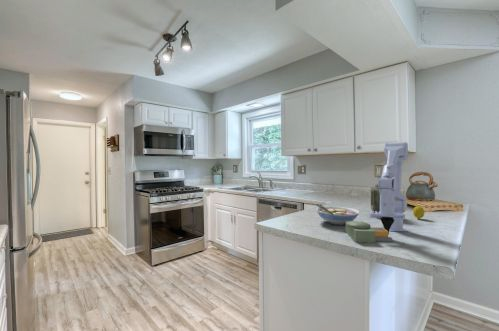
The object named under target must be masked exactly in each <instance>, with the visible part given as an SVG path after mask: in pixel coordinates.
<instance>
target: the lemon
mask: <svg viewBox="0 0 499 331" xmlns="http://www.w3.org/2000/svg"><path fill="white" fill-rule="evenodd" d="M412 212H413V213H412V214H413V216H414V217H415V218H416V219H417V220H420V219H422V218H423V217H424V216H425V209H424V207H422V206H420V205H416V206H415V207H414V208H413V210H412Z"/></svg>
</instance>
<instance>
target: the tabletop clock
mask: <svg viewBox="0 0 499 331" xmlns="http://www.w3.org/2000/svg"><path fill="white" fill-rule="evenodd" d="M379 178H381V176H378V179H379ZM370 209H371V211H372V213H377V212H380V193H379V187H378V183H376V184H375V185H374V187H371V188H370Z"/></svg>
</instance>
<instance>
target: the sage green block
mask: <svg viewBox="0 0 499 331" xmlns="http://www.w3.org/2000/svg"><path fill="white" fill-rule="evenodd" d="M370 227H371V224H370V223H368V222H364V221H358V220H357V221H356V220H355V221H354V220H353V221H349V222H346V223H345V233H346V234H347V236H349V237H350V238H351V239H352V240H353V242H355V243H362V242H368V243H367V244H376V242H389V241H392V242H393V237H391V236H388V237H375V231H374V230H373V229H371V228H370Z"/></svg>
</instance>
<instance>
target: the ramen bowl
mask: <svg viewBox="0 0 499 331" xmlns="http://www.w3.org/2000/svg"><path fill="white" fill-rule="evenodd" d="M316 207H317V208H316V209H315V210H316V212H317V214H318V216H319V217H320V218H321V219H322V220H323V221H326V222H327V223H330V224H332V225H336V226H337V225H338V226H343V225H346V222H349V221H354V220H355V219H356V218H357V217H358V216H359V215H360V211H359V210H358V209H356V208H351V207H350V208H349V207H346V206H345V207H344V206H331V205H330V206H323V205H322V204H316Z"/></svg>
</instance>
